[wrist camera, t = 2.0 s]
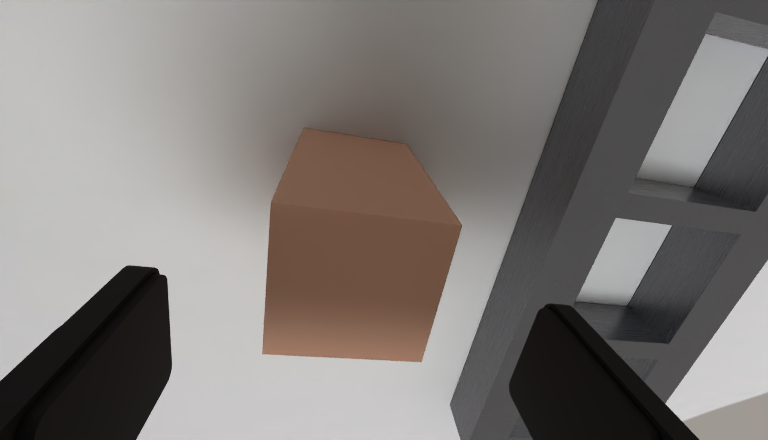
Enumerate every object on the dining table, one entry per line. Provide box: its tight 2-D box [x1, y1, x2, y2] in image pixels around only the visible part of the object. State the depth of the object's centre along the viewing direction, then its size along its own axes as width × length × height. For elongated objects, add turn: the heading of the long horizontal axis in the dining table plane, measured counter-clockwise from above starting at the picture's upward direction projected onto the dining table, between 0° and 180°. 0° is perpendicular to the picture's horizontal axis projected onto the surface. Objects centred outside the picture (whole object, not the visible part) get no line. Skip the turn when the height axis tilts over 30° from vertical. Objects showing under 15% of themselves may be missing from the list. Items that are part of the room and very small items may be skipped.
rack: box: [450, 0, 768, 440], centre depth 18 cm, size 24×11×3 cm, turn 170°
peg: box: [262, 128, 462, 362], centre depth 13 cm, size 4×4×8 cm
